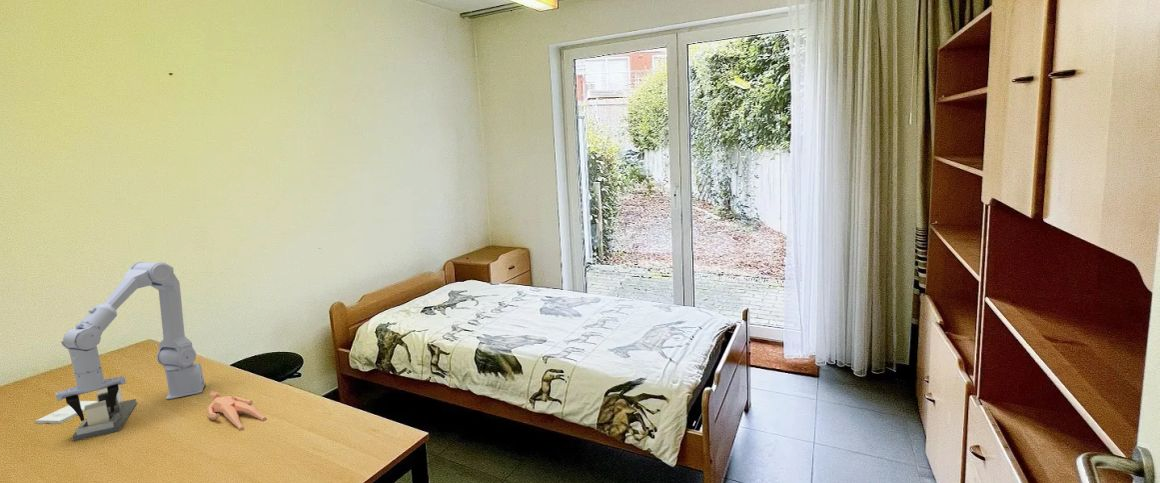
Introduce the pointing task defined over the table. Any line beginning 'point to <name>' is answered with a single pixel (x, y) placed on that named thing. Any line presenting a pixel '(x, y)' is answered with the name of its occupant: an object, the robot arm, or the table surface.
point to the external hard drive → (62, 414)
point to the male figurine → (232, 408)
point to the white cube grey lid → (97, 413)
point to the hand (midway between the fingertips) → (97, 415)
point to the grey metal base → (116, 418)
